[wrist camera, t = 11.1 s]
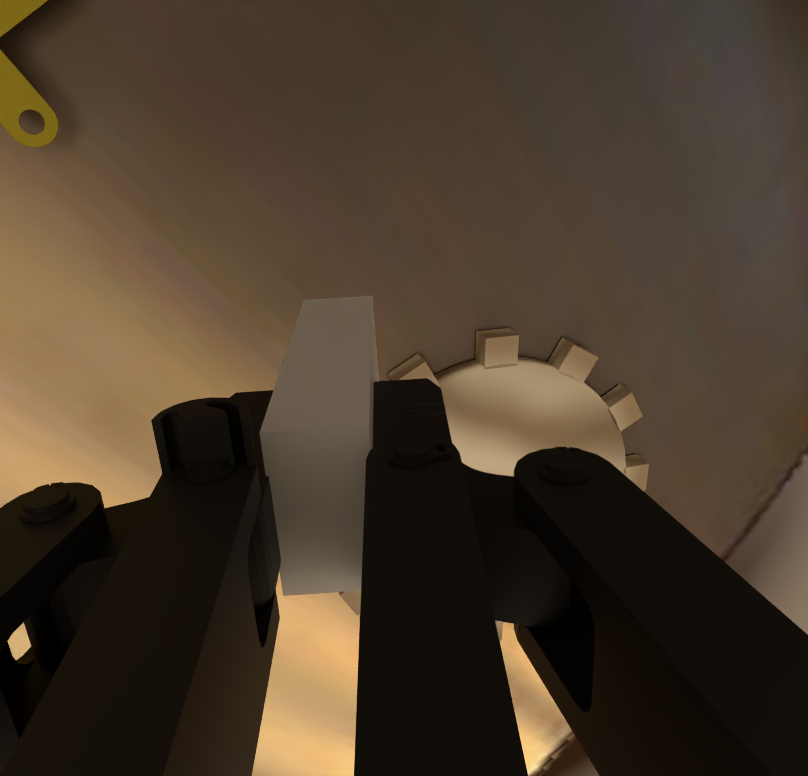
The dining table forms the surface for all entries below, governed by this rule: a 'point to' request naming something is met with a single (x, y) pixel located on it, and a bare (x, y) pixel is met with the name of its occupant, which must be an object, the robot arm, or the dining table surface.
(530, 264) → the dining table surface
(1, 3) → the bracket
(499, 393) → the sprocket
